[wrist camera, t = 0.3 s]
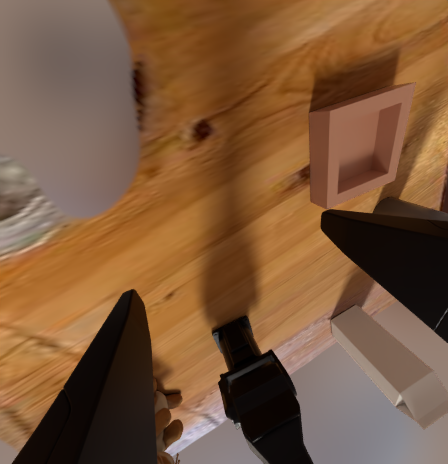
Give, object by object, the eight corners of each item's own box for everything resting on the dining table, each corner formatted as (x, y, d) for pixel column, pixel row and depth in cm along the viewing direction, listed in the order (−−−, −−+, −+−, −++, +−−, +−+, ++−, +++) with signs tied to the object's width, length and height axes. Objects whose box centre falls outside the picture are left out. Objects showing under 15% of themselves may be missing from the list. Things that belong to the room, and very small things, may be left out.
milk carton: (329, 319, 46) (428, 424, 30) (355, 303, 46) (465, 397, 30) (331, 335, 50) (419, 434, 34) (355, 320, 50) (453, 411, 34)
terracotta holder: (373, 175, 30) (394, 180, 27) (310, 201, 28) (326, 209, 26) (387, 86, 24) (416, 82, 22) (309, 112, 22) (330, 111, 20)
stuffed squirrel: (185, 392, 40) (202, 495, 29) (115, 432, 38) (103, 558, 27) (163, 370, 34) (172, 486, 23) (79, 415, 32) (46, 564, 21)
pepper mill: (392, 218, 36) (498, 259, 25) (369, 228, 35) (469, 275, 25) (398, 192, 34) (519, 225, 23) (374, 203, 33) (487, 242, 22)
